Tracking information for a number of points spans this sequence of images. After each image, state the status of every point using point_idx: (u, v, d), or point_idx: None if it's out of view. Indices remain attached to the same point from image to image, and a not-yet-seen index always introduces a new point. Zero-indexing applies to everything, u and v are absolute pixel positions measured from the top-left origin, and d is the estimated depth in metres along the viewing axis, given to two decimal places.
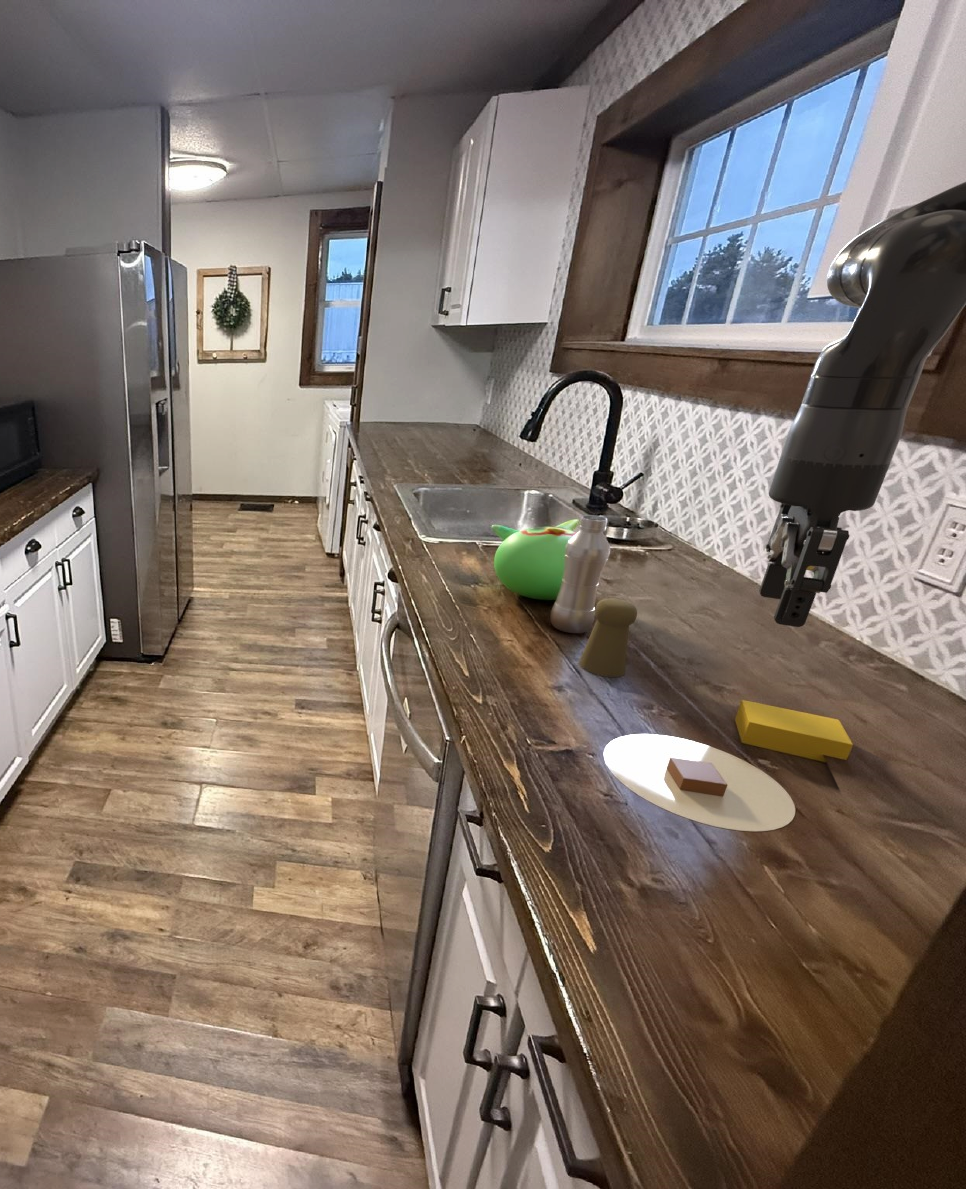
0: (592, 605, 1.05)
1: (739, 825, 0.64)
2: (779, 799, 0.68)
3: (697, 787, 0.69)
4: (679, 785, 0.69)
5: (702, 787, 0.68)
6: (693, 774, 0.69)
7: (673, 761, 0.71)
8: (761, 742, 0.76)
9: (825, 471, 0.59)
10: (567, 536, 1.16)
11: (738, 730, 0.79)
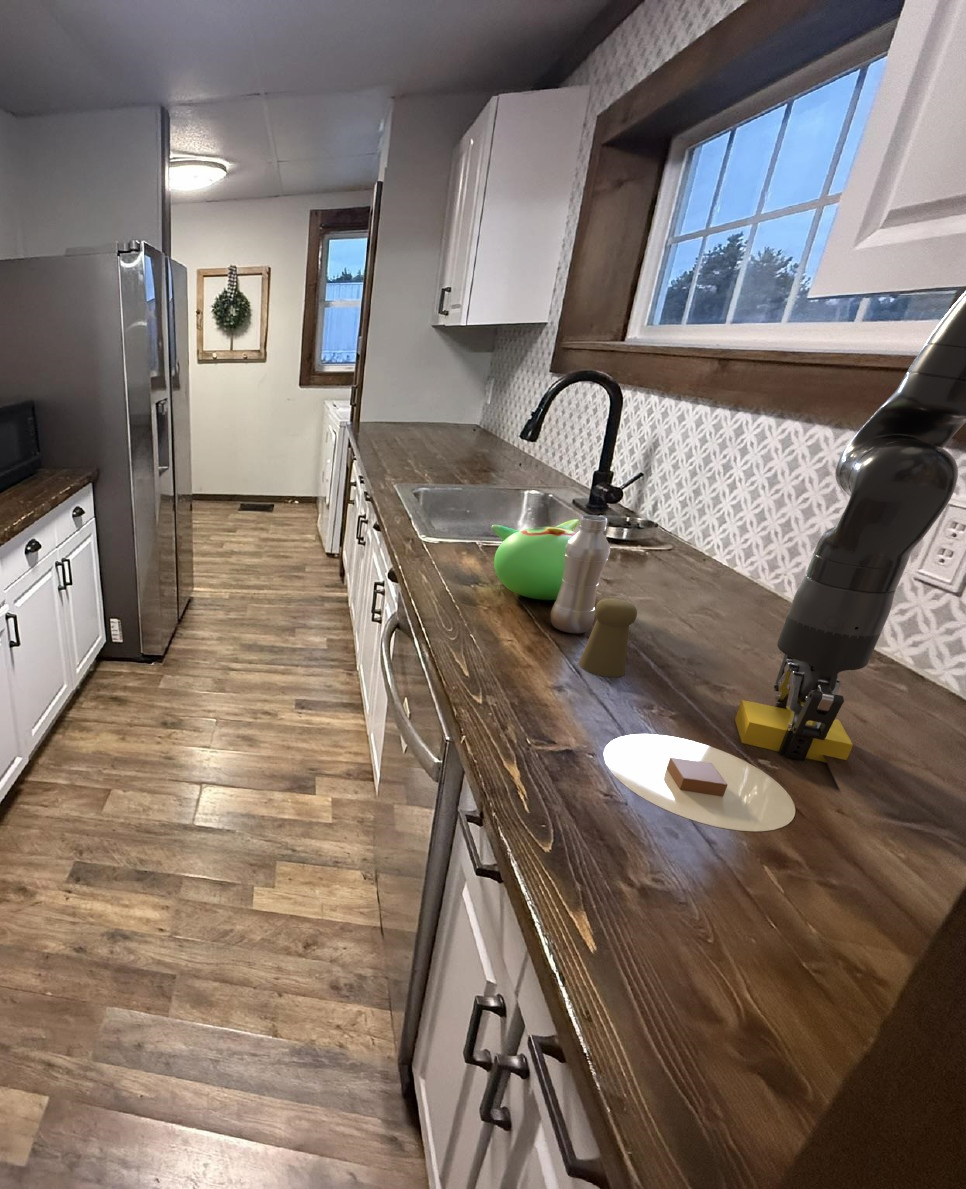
0: (592, 605, 1.05)
1: (739, 825, 0.64)
2: (779, 799, 0.68)
3: (697, 787, 0.69)
4: (679, 785, 0.69)
5: (702, 787, 0.68)
6: (693, 774, 0.69)
7: (673, 761, 0.71)
8: (761, 742, 0.76)
9: (826, 637, 0.69)
10: (567, 536, 1.16)
11: (738, 730, 0.79)
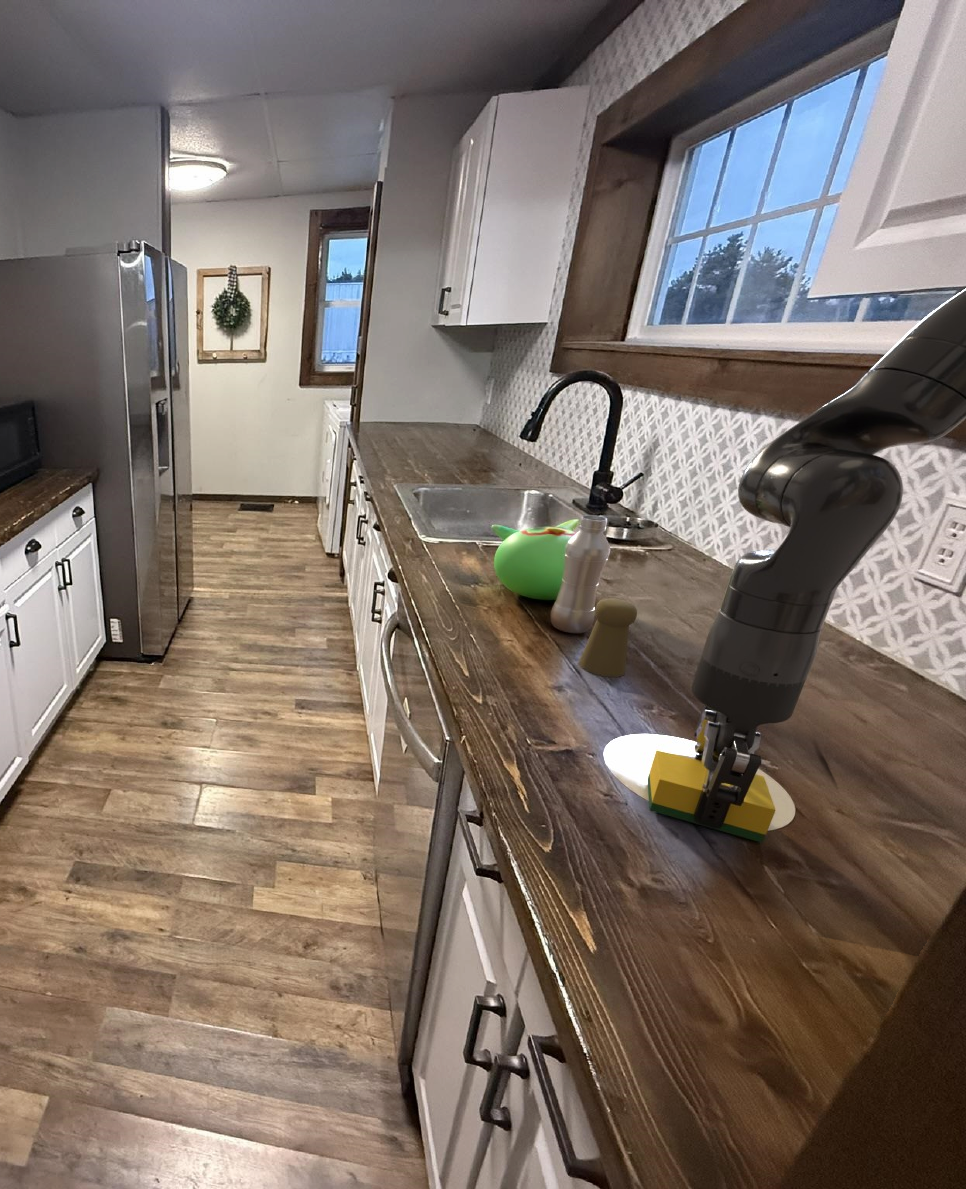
0: (592, 605, 1.05)
1: None
2: (779, 799, 0.68)
3: None
4: None
5: None
6: None
7: None
8: (673, 803, 0.65)
9: (741, 684, 0.58)
10: (567, 536, 1.16)
11: (650, 786, 0.68)
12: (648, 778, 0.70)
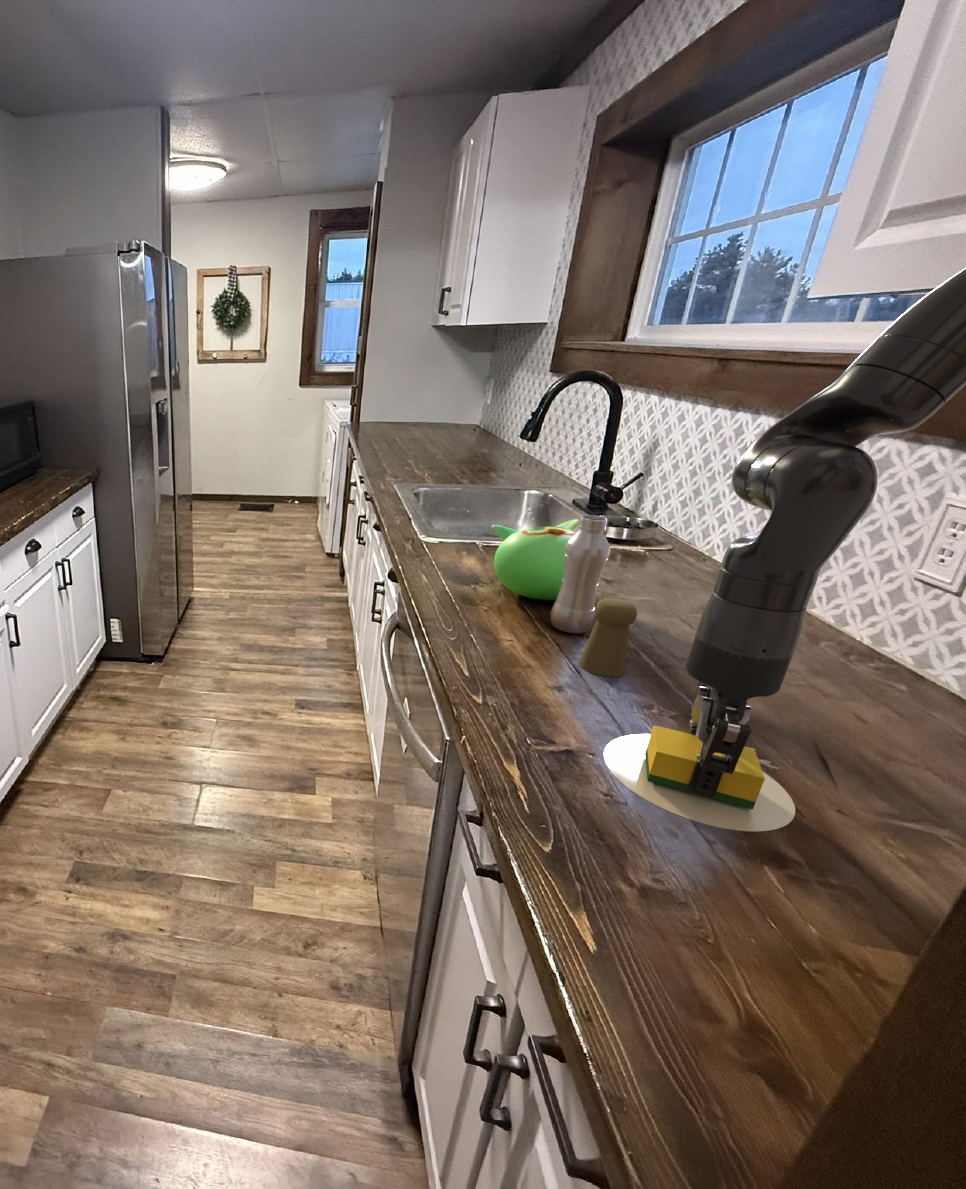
0: (592, 605, 1.05)
1: (739, 825, 0.64)
2: (779, 799, 0.68)
3: None
4: None
5: None
6: None
7: None
8: (669, 774, 0.69)
9: (732, 660, 0.62)
10: (567, 536, 1.16)
11: (648, 759, 0.72)
12: (646, 752, 0.74)
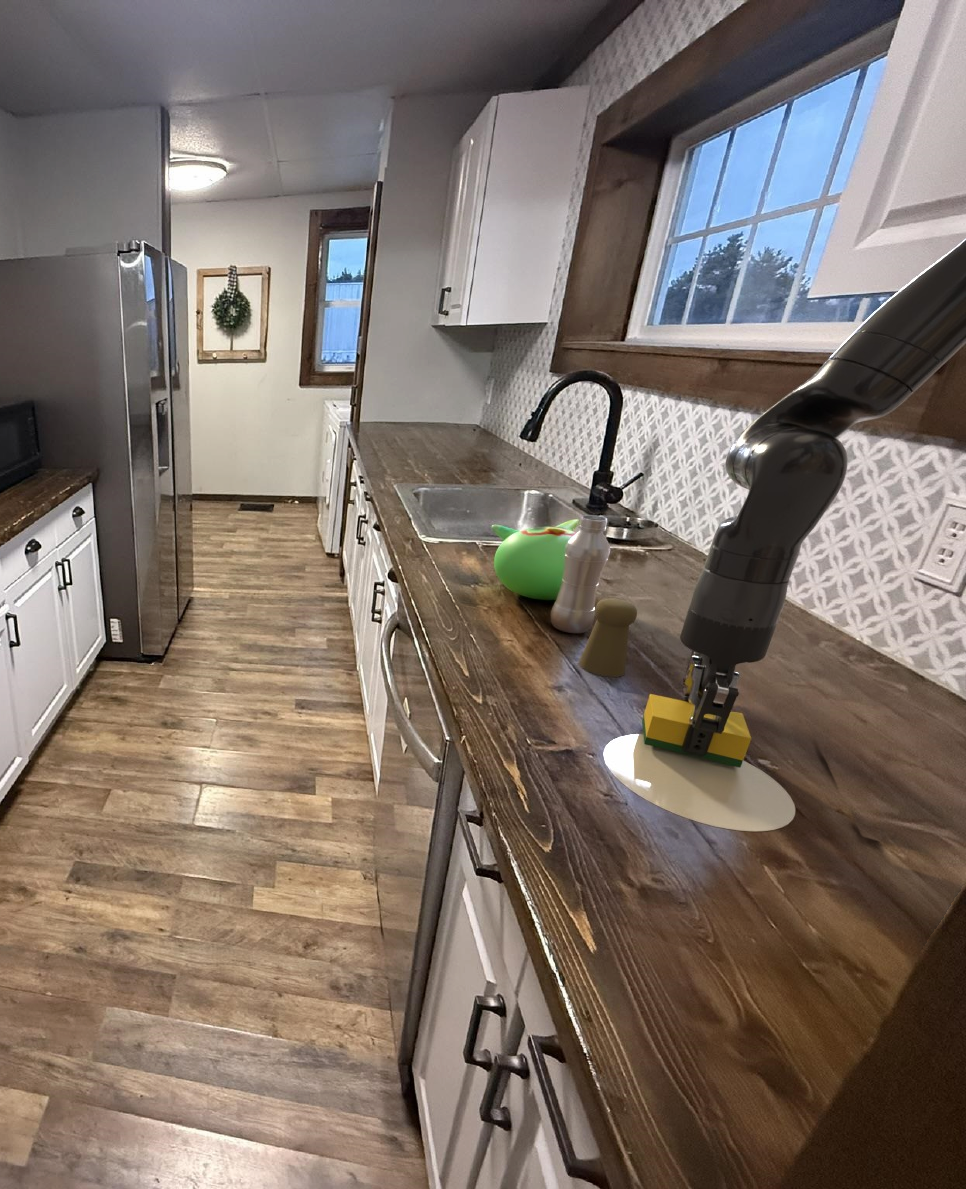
0: (592, 605, 1.05)
1: (739, 825, 0.64)
2: (779, 799, 0.68)
3: None
4: None
5: None
6: None
7: None
8: (664, 736, 0.75)
9: (722, 629, 0.68)
10: (567, 536, 1.16)
11: (645, 724, 0.78)
12: (643, 719, 0.80)
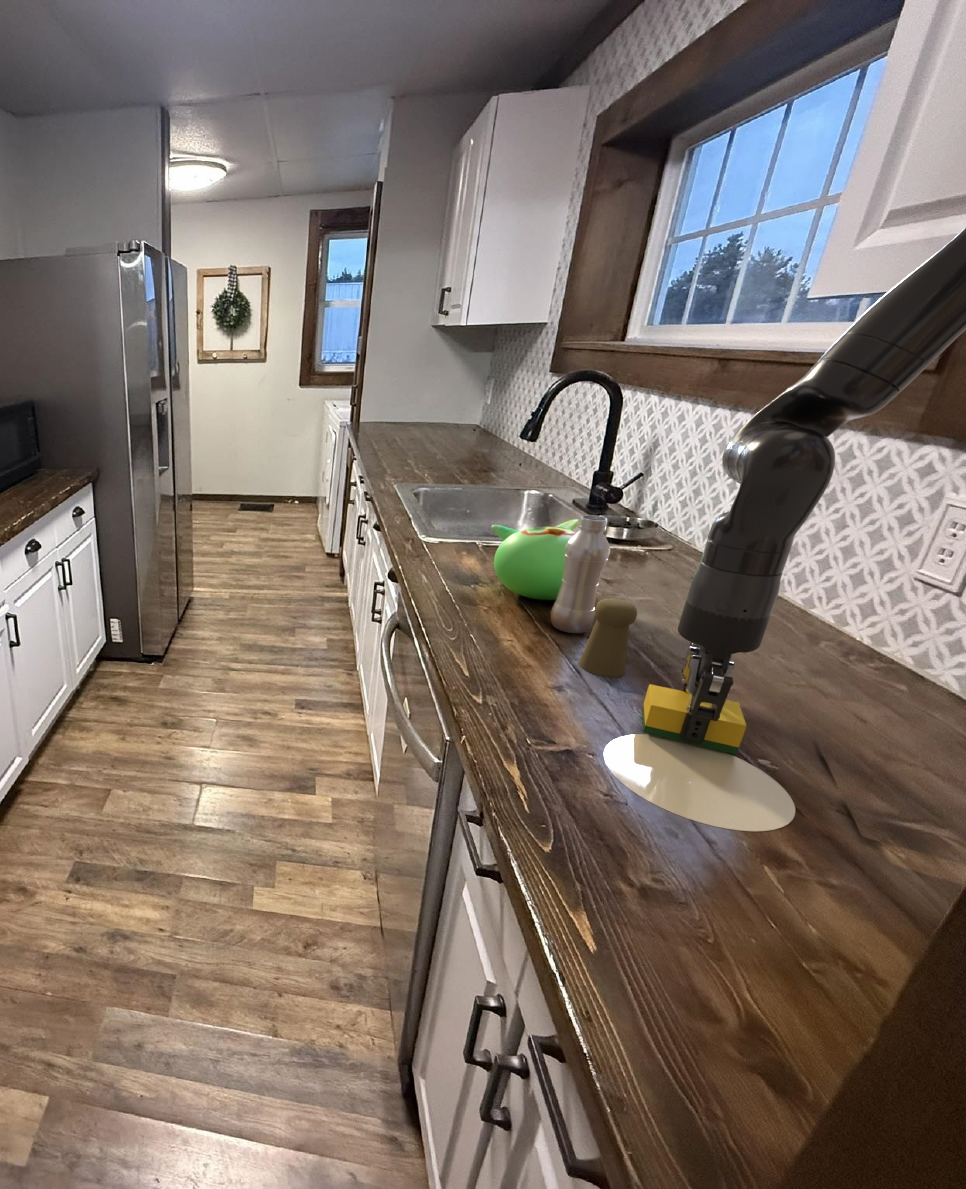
0: (592, 605, 1.05)
1: (739, 825, 0.64)
2: (779, 799, 0.68)
3: None
4: None
5: None
6: None
7: None
8: (663, 724, 0.77)
9: (717, 620, 0.71)
10: (567, 536, 1.16)
11: (644, 714, 0.81)
12: (642, 709, 0.83)
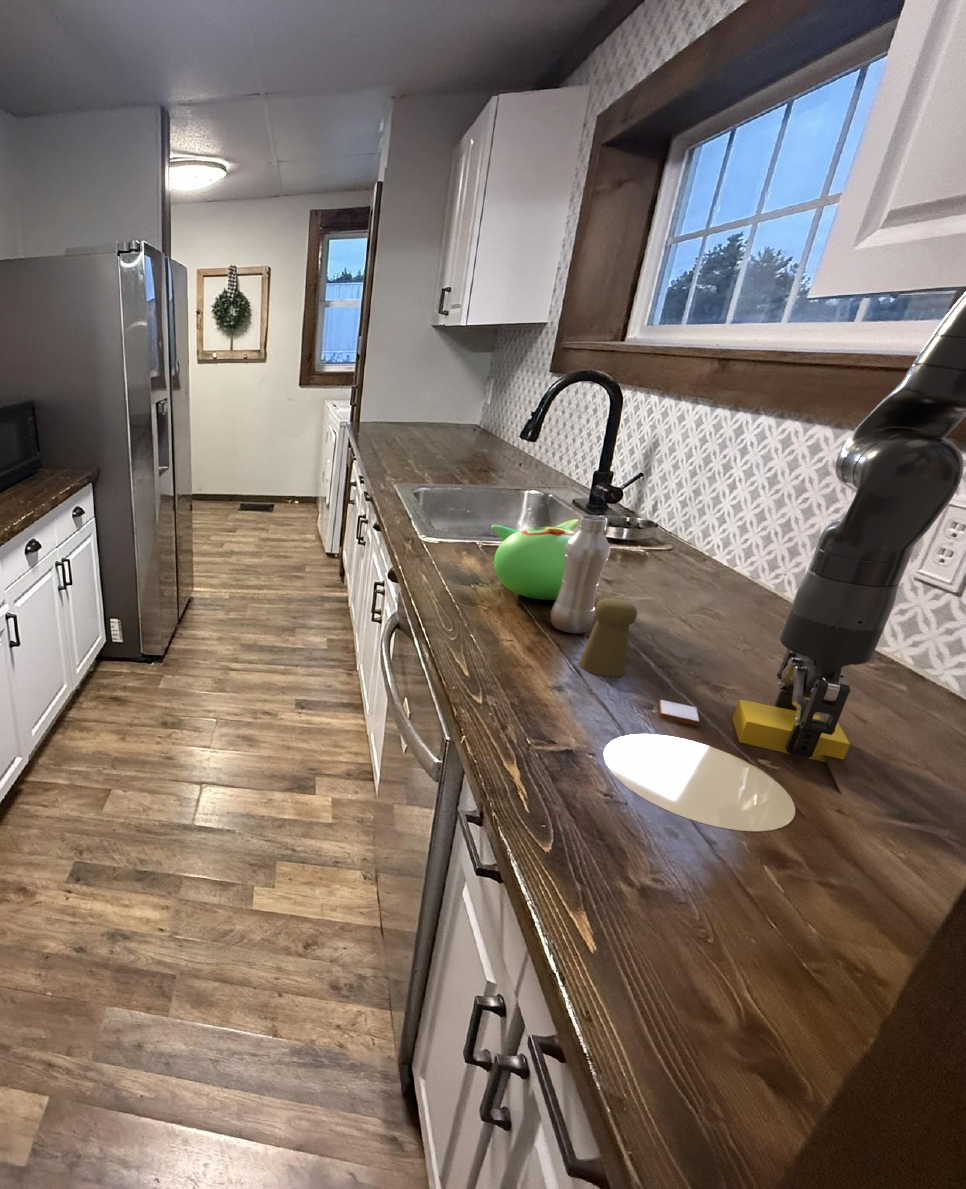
0: (592, 605, 1.05)
1: (739, 825, 0.64)
2: (779, 799, 0.68)
3: None
4: None
5: None
6: (672, 712, 0.82)
7: (660, 702, 0.85)
8: (758, 741, 0.76)
9: (829, 631, 0.69)
10: (567, 536, 1.16)
11: (735, 729, 0.79)
12: None
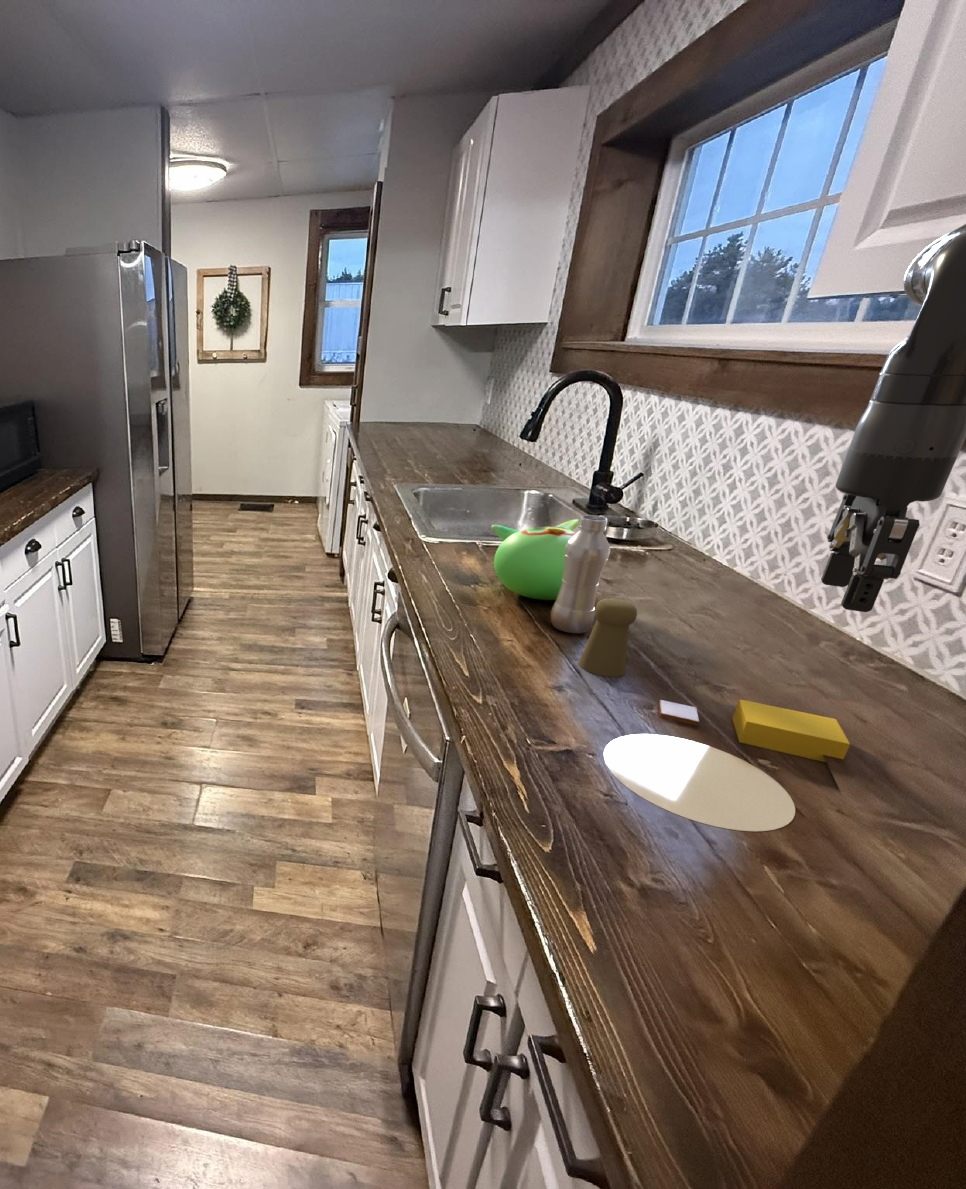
0: (592, 605, 1.05)
1: (739, 825, 0.64)
2: (779, 799, 0.68)
3: None
4: None
5: None
6: (672, 712, 0.82)
7: (660, 702, 0.85)
8: (758, 741, 0.76)
9: (895, 463, 0.62)
10: (567, 536, 1.16)
11: (735, 729, 0.79)
12: None
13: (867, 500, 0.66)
